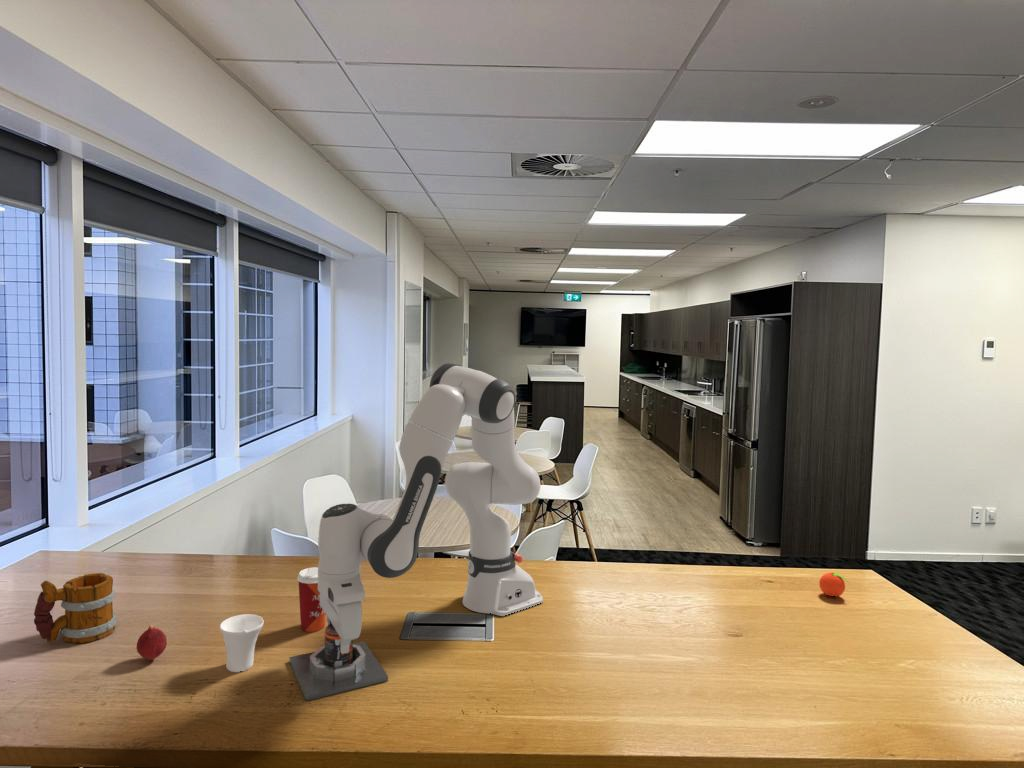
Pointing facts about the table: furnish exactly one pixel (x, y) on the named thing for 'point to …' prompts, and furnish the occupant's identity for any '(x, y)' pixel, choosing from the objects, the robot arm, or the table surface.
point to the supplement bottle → (335, 649)
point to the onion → (151, 643)
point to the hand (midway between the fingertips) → (338, 641)
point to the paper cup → (310, 601)
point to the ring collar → (336, 672)
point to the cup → (240, 640)
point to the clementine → (832, 584)
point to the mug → (77, 609)
